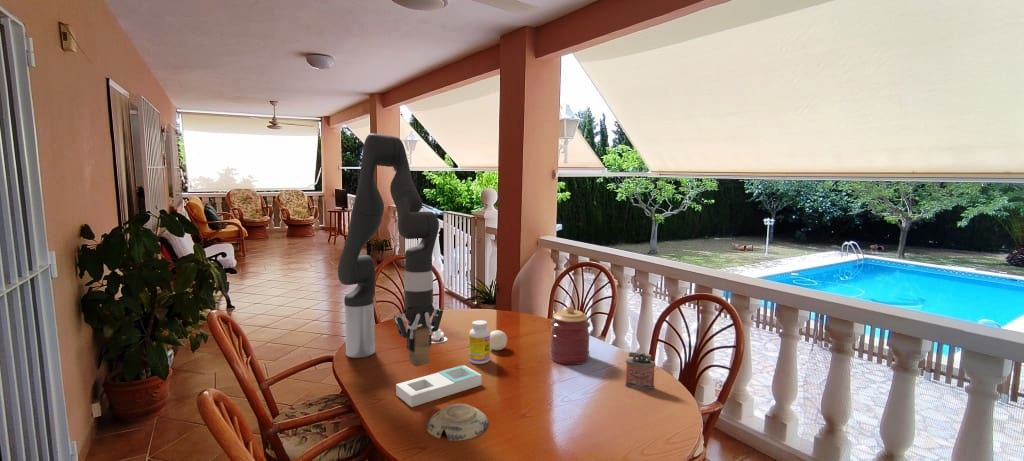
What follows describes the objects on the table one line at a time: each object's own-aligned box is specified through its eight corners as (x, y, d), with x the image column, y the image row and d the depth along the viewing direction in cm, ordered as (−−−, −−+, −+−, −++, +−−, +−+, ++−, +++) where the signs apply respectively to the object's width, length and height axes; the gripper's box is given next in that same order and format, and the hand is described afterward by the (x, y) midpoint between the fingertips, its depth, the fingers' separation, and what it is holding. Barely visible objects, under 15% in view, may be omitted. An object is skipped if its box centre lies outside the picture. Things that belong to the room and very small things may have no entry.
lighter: (654, 386, 136) (655, 352, 135) (654, 391, 133) (655, 356, 132) (625, 382, 139) (626, 349, 138) (624, 386, 136) (625, 353, 135)
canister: (570, 368, 149) (571, 313, 147) (541, 357, 158) (542, 305, 157) (597, 358, 157) (598, 306, 155) (567, 348, 167) (568, 298, 165)
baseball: (511, 347, 167) (511, 329, 166) (500, 354, 161) (501, 335, 160) (494, 344, 170) (494, 326, 170) (483, 351, 164) (483, 332, 163)
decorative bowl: (491, 411, 122) (433, 409, 122) (491, 397, 121) (433, 395, 122) (486, 444, 107) (420, 441, 108) (486, 428, 107) (419, 426, 107)
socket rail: (396, 394, 130) (396, 383, 130) (464, 374, 143) (464, 364, 143) (411, 407, 123) (411, 395, 123) (481, 384, 136) (481, 374, 136)
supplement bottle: (486, 365, 151) (486, 326, 149) (466, 363, 152) (466, 324, 151) (491, 358, 157) (492, 320, 156) (472, 356, 159) (472, 318, 157)
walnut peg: (409, 362, 129) (408, 326, 128) (422, 358, 131) (422, 323, 130) (416, 366, 126) (415, 330, 125) (429, 363, 128) (429, 327, 127)
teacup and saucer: (438, 335, 181) (437, 324, 181) (453, 339, 177) (453, 328, 176) (421, 341, 174) (420, 330, 174) (436, 345, 170) (436, 334, 169)
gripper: (435, 281, 134) (435, 340, 135) (387, 287, 125) (388, 350, 127) (449, 286, 128) (449, 347, 130) (400, 293, 119) (400, 359, 121)
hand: (419, 349), depth 128 cm, fingers closed on walnut peg, 4 cm apart
